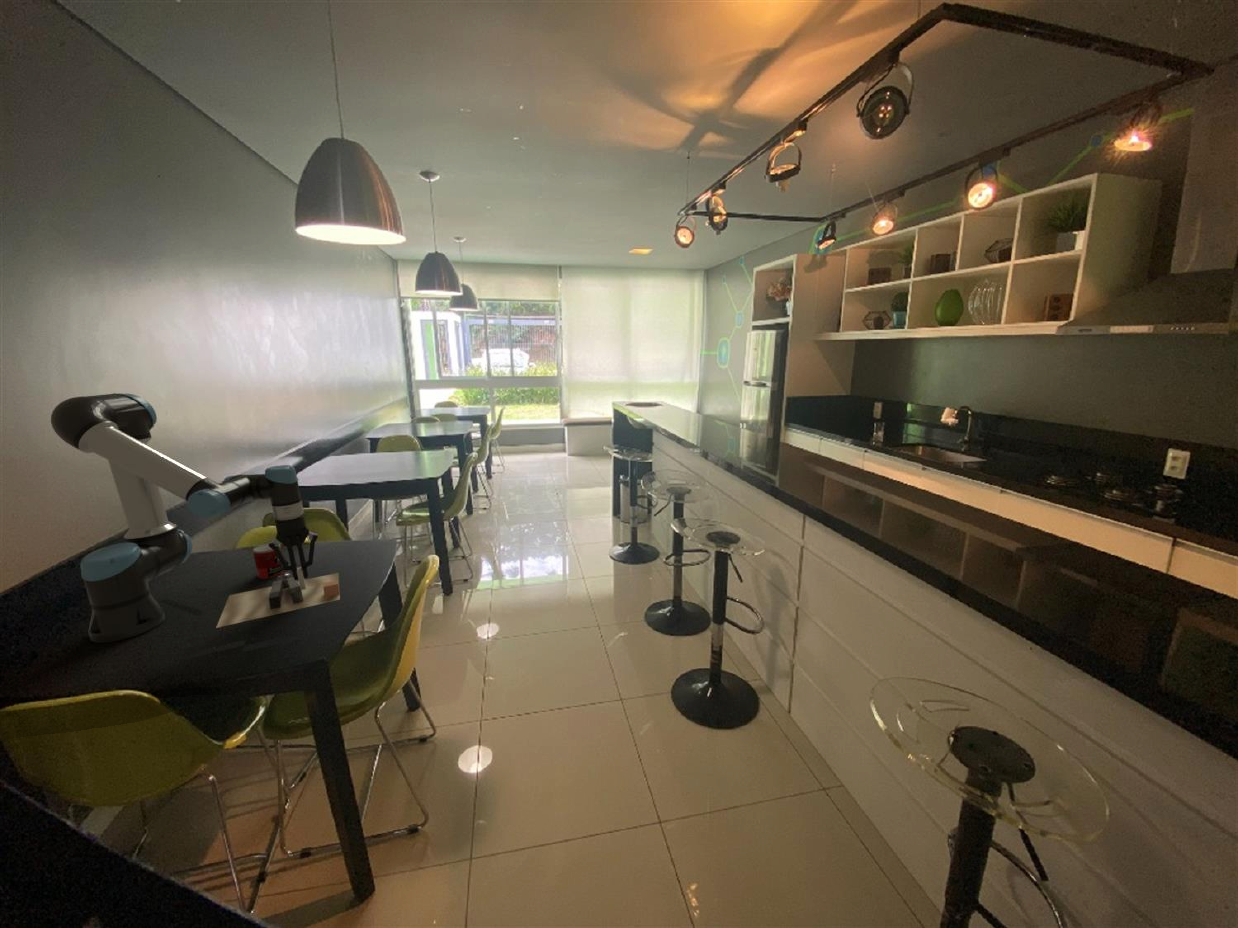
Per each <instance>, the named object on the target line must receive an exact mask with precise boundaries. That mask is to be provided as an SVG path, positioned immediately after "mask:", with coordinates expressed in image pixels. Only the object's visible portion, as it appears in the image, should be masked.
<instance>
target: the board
mask: <svg viewBox="0 0 1238 928" xmlns="http://www.w3.org/2000/svg"><path fill="white" fill-rule="evenodd" d="M339 575H340V574H339V572H336V573H331V574H327V575H321V576H317V577H312V578H305V583H306V589H304V590H301V591H302V597H303V602H300V603H296V604H293V601H292V597H291V594H290V591H289V588H284V592H283V598H282V604H281V607H280V608H276V609H270V603H269V595H270V592H271V588H272V586H268V587H263V588H258V589H255V590H254V589H253V590H248V591H244V592H240V593H239V592H238V593H234V594H229V595H228V598H227V600H226V603H225V606H224V608H223V609H222V613H221V615H220V617H219V620H218V622H217V625H216V627H215V629H217V628H218V629H219V628H222V627H226V626H230V625H231V626H232V625H236V624H239V623H244V622H248V621H253V620H257V619H261V618H266V617H270V616H274V615H278V614H283V613H287V612H288V613H289V612H292V611H296V610H301V609H305V608H309V607H310V608H311V607H314V606H318V605H321V604H322V605H323V604H327V603H331V602H335V601H340V600H341V596H340V595H341V593H340V594H338V595H334V596H329V597H325V595H324V589H323V583H327V582H332V581H336V580H338V584H339V585H340V576H339ZM297 581H298V584H299V580H297ZM299 586H300V585H299Z"/></svg>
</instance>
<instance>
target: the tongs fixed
mask: <svg viewBox="0 0 1238 928" xmlns="http://www.w3.org/2000/svg"><path fill="white" fill-rule="evenodd" d="M276 577H277V580H275V581H273V582H272V583H271V584H272V585H271V587H272V588H271V592H270V595H269V603H270V609H276V608H280V607H281V604H282V598H283V592H284V588H288V582H287V579H288V578H292V573H291V572H290V571H288V572H287V571H285V572H284V573H281V574H279V575H278V576H276Z"/></svg>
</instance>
